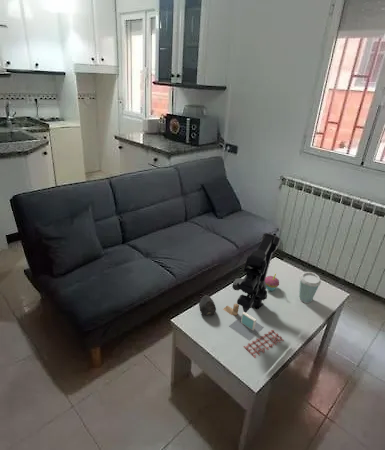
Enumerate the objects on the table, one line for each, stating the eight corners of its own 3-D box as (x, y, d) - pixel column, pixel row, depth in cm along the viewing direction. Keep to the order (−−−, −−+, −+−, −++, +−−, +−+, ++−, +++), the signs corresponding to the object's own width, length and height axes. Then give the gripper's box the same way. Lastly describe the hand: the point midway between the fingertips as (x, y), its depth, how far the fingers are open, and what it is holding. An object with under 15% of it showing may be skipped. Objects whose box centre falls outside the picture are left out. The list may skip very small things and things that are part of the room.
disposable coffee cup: (315, 308, 162) (322, 285, 155) (294, 302, 165) (300, 280, 158) (314, 295, 171) (321, 273, 164) (294, 290, 174) (300, 269, 167)
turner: (227, 306, 159) (228, 297, 157) (239, 314, 155) (240, 304, 152) (222, 310, 157) (223, 300, 154) (234, 318, 152) (236, 308, 150)
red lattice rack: (241, 349, 136) (242, 345, 135) (271, 331, 146) (272, 328, 145) (253, 360, 131) (254, 357, 130) (283, 342, 141) (284, 339, 140)
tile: (242, 320, 150) (244, 311, 147) (254, 328, 146) (256, 319, 143) (240, 322, 149) (242, 313, 146) (252, 330, 145) (254, 321, 142)
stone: (212, 315, 156) (213, 295, 158) (218, 317, 149) (219, 296, 151) (197, 315, 154) (198, 294, 155) (202, 316, 146) (204, 295, 148)
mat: (243, 314, 155) (243, 313, 154) (263, 328, 147) (263, 327, 147) (228, 327, 147) (228, 326, 146) (249, 341, 139) (249, 340, 139)
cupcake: (280, 291, 173) (285, 273, 167) (268, 294, 170) (271, 276, 164) (272, 282, 180) (275, 265, 174) (259, 284, 177) (263, 267, 171)
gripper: (243, 263, 147) (240, 288, 154) (227, 284, 132) (224, 311, 140) (266, 271, 142) (261, 296, 150) (252, 294, 128) (247, 321, 135)
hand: (248, 306), depth 144 cm, fingers open, 9 cm apart
